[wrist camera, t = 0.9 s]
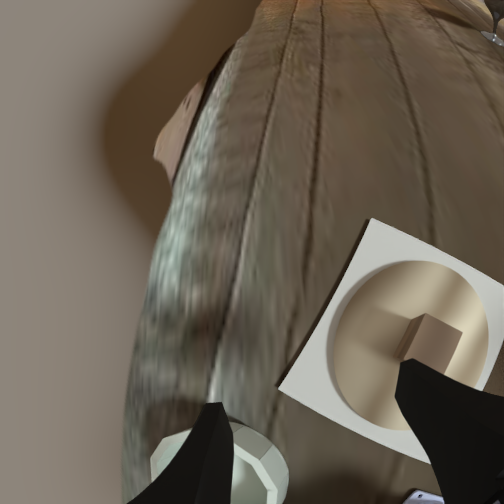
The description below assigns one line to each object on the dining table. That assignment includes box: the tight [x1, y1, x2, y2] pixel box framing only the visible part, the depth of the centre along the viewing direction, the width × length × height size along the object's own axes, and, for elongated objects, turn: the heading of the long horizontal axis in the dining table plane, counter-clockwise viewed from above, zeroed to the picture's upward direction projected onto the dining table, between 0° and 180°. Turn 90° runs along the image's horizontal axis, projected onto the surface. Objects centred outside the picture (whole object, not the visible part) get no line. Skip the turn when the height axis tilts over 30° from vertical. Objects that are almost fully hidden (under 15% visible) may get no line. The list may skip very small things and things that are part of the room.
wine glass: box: [481, 0, 504, 46], centre depth 20 cm, size 8×8×15 cm
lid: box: [333, 261, 489, 431], centre depth 17 cm, size 15×15×5 cm
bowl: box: [150, 422, 289, 504], centre depth 19 cm, size 12×12×5 cm
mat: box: [278, 218, 504, 464], centre depth 20 cm, size 18×18×1 cm
